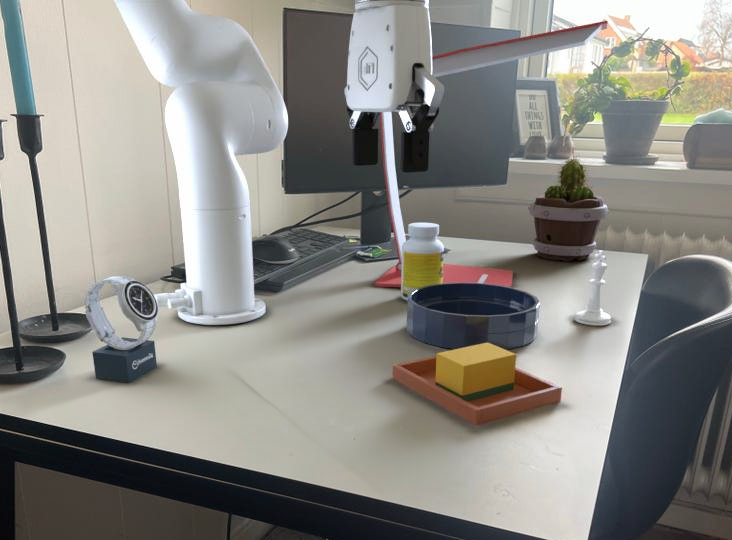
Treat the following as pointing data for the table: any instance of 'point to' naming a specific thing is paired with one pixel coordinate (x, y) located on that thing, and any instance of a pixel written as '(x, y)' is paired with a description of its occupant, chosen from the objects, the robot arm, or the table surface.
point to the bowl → (472, 315)
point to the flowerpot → (567, 216)
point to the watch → (123, 354)
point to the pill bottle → (421, 258)
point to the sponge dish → (522, 398)
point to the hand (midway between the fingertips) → (388, 168)
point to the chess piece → (595, 297)
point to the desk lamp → (454, 64)
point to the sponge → (476, 371)
